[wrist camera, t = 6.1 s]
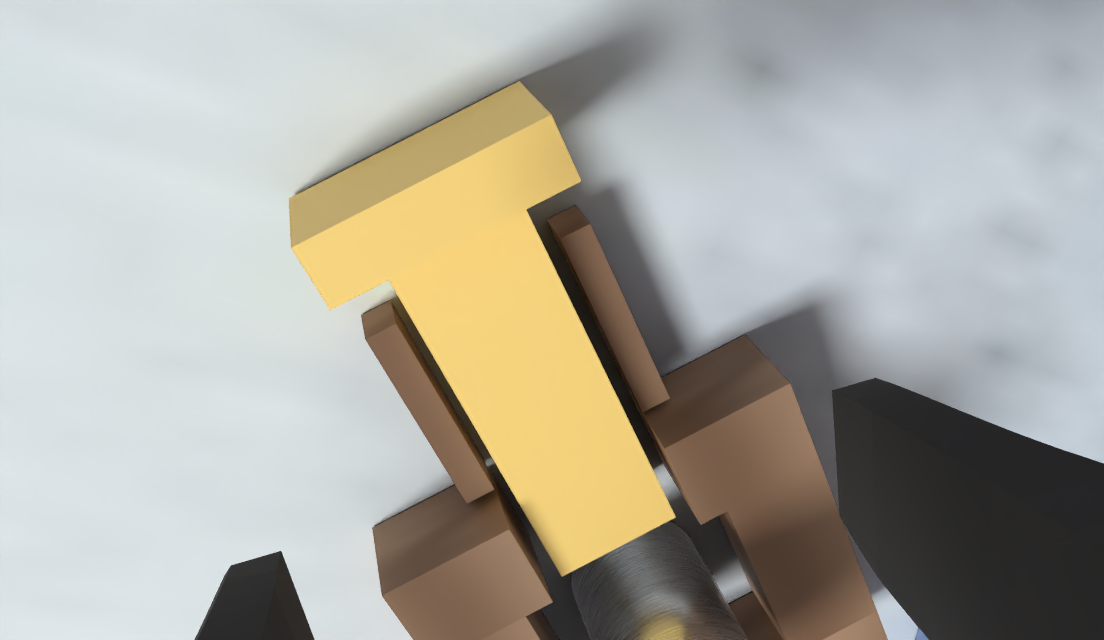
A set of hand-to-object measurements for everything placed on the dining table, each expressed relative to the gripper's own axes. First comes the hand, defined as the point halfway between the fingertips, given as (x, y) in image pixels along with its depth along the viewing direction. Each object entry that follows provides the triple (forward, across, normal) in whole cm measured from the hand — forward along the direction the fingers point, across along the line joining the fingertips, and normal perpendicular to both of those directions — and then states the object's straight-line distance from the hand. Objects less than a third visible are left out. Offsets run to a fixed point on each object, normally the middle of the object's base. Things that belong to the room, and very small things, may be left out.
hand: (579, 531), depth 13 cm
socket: (+11, -2, +8) cm, 13 cm away
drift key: (+10, -1, +3) cm, 11 cm away
